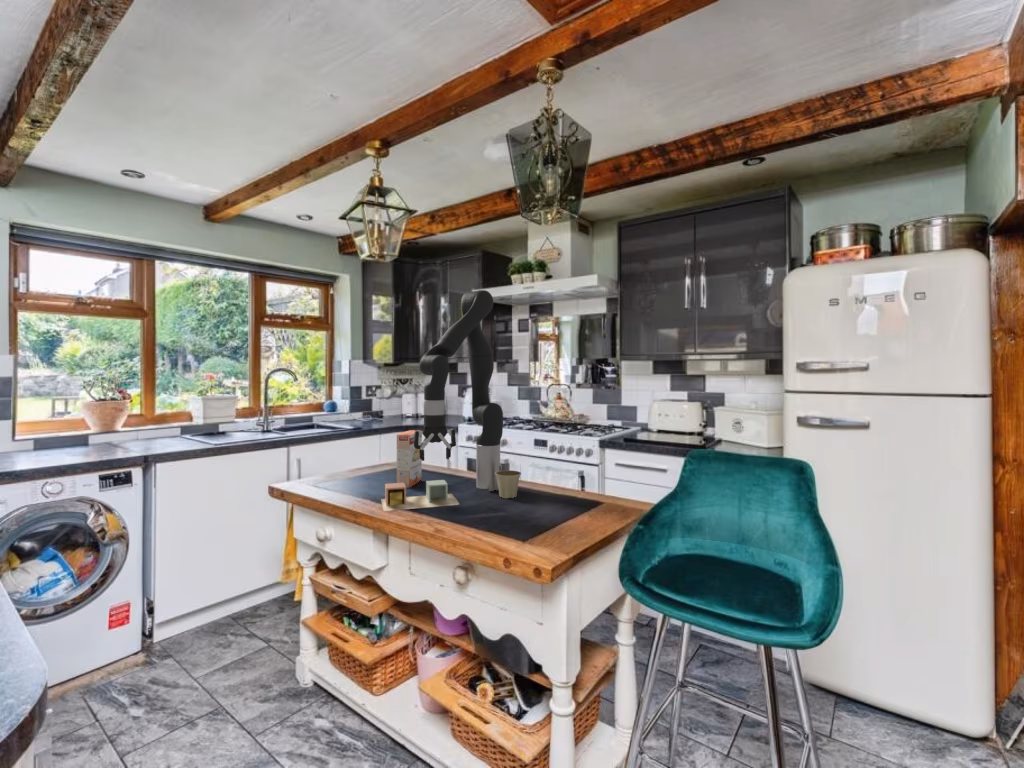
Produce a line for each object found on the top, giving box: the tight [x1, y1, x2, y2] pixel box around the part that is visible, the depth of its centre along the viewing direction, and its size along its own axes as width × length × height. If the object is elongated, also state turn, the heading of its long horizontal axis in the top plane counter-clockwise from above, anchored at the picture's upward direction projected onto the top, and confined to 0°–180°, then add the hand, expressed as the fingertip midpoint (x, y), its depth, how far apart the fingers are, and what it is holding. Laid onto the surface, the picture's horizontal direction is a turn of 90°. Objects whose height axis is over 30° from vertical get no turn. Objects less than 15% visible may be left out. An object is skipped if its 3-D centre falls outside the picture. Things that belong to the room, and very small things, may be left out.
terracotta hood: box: [384, 482, 407, 506], centre depth 175 cm, size 6×6×6 cm
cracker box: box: [396, 429, 423, 489], centre depth 205 cm, size 14×6×21 cm, turn 171°
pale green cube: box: [425, 479, 449, 503], centre depth 179 cm, size 6×6×6 cm
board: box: [380, 493, 460, 512], centre depth 177 cm, size 25×15×1 cm, turn 107°
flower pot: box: [495, 469, 522, 499], centre depth 187 cm, size 9×9×9 cm
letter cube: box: [389, 490, 402, 505], centre depth 175 cm, size 4×4×4 cm
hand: (435, 459), depth 179 cm, fingers open, 8 cm apart
